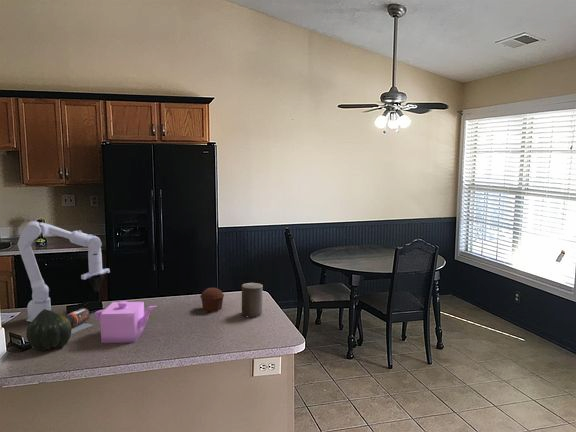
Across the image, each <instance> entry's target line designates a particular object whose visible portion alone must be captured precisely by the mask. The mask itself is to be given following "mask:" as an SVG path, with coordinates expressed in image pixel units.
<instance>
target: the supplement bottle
mask: <svg viewBox="0 0 576 432" xmlns="http://www.w3.org/2000/svg"><path fill="white" fill-rule="evenodd" d="M90 316H91V314H90V311H89V310H88V309H87V308H85V307H82V308H79V309H77V310H75V311H72V312H70V313H68V314H67V315H65V317H66V318H67V319H68V320H69V322H70V324H71V327H75V326H77V325H79V324H81V323H86V322H87V321H88V320H89V319H90Z"/></svg>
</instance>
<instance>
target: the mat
mask: <svg viewBox="0 0 576 432" xmlns="http://www.w3.org/2000/svg"><path fill="white" fill-rule="evenodd" d="M91 327H94V324H91V323H88V322H83V323H81V324H79V325H77V326H75V327H71V335H73V334H77V333H79V332H81V331H84V330H86V329H89V328H91Z"/></svg>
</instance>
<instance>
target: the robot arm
mask: <svg viewBox="0 0 576 432" xmlns="http://www.w3.org/2000/svg"><path fill="white" fill-rule="evenodd" d="M41 235H42V236H46V235H52V236H57V237H61V238H65V239H68V240H69V242H70V243H71V244H75V245H77V246H82V247H85V248H86V247H87V248H88V253H87V258H88V271H87V272H86V273H83V274H81V275H80V279H81V280H84V281H85V280H87V279H88V280H89V282H90V284H91V286H92V288H93V292H95V293H97V292H100V289H101V287H102V286H101V285H102V282H103V280H104V278H105V274H110V273H111V270H110V268H108V267H107V268H103V256H102V248H101V247H102V245H103V243H102V240H101V239H100V237H98V236H96V235H93V234H91V233H90V234H89V233H84V232H83V231H82V230H80V229H79V230H73V231H69V230H66V229H63V228H61V227H58V226H56V225H55V226H54V225H53V224H49V223H46V222H39V221H37V220H33V221H30V222H27V224H26V225H25V226H24V227H23V228H22V232H21V233H20V236H19V238H18V241H17V247H18V250H19V254H20V256H21V260H22V262H23V265H24V268H25V271H26V273H27V276H28V279H29V281H30V287H31V291H32V294H31V298H32V299H31V300H30V301H29V302H28V304H27V307H26V308H27V318H26V321H27V322H30V323H31V322H32V321H33V320H34V319H35V318H36V316H37V315H38V314H39V313H40V312H41V311H42V310H43V309H46V310H50V311H52V306H51V297H50V296H49V295H50V294H49V292H50V288H49V286H48V285H47V284H46V283H45V280H44V278H43V277H42V274H41V272H40V269H39V265H38V263H37V260H36V256H35V254H34V251H33V247H32V244H33V243H34V241H35V240H36V239H37V238H39V237H40V236H41Z"/></svg>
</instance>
